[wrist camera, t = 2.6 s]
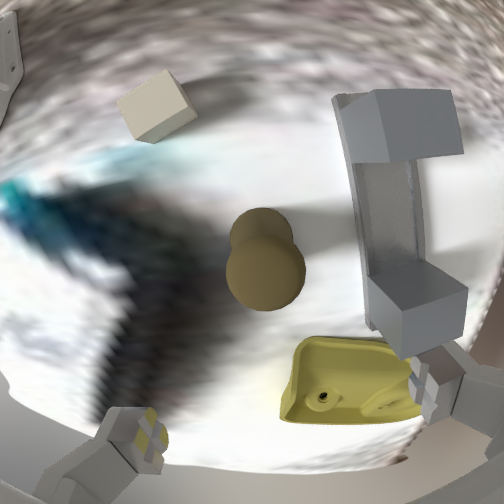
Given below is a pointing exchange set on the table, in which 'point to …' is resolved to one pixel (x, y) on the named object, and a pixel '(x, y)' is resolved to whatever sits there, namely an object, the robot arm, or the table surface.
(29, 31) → the table surface
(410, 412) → the plastic component
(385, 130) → the block
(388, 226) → the rail
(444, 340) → the block
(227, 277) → the cork
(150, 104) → the beige block
